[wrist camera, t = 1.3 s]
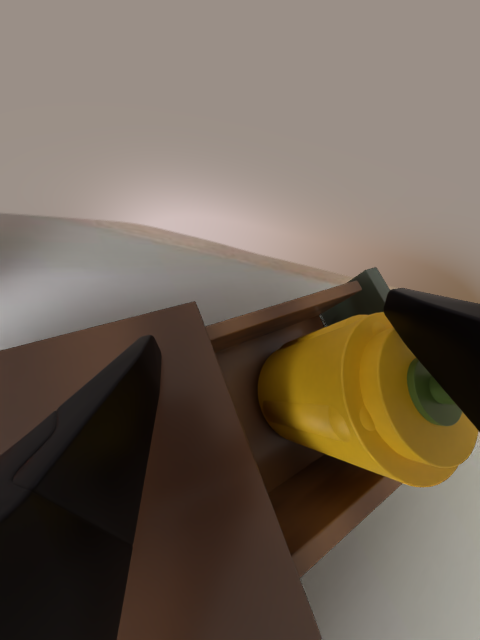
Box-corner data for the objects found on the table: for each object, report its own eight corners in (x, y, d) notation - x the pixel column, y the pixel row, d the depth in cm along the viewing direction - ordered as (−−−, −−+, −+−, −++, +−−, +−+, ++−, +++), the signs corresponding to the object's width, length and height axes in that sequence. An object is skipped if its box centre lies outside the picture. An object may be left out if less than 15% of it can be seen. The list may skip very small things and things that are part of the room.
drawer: (353, 291, 23) (410, 256, 18) (416, 402, 21) (504, 403, 15) (168, 352, 16) (166, 326, 10) (228, 537, 13) (269, 633, 8)
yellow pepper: (347, 416, 17) (567, 445, 8) (274, 464, 14) (480, 595, 5) (310, 333, 18) (462, 272, 9) (236, 362, 16) (346, 318, 6)
